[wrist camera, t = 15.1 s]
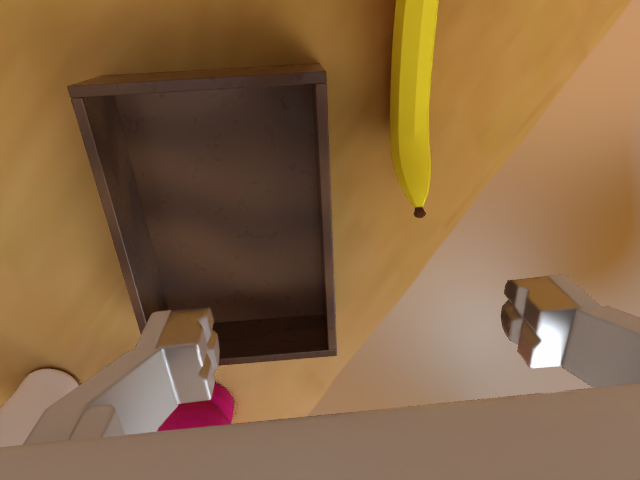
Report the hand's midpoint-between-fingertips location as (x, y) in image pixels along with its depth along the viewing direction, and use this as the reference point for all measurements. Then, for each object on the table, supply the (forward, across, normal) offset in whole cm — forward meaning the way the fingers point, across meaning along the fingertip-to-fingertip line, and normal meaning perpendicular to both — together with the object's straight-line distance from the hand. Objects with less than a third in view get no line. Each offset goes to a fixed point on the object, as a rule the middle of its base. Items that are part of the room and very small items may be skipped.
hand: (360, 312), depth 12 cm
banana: (+24, -7, -4) cm, 25 cm away
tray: (+24, +7, +6) cm, 25 cm away
